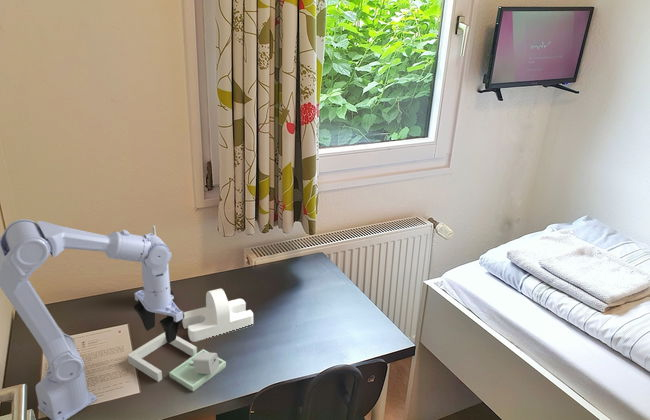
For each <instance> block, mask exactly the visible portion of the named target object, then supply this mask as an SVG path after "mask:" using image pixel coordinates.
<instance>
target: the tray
mask: <svg viewBox="0 0 650 420" xmlns="http://www.w3.org/2000/svg"><path fill="white" fill-rule="evenodd" d="M200 352H206V353H210V352H209V351H207V350H205V349H204V348H203V349H201V350H200V351H197V354H195V355H194V356H190V357H189V358H188V359H186V360H185V361H184V362H182V363H181V364H179V365H178V366H176V367H175V368H174V369H172V370H171V371H169V378H170V379H172V380H174V381H175V382H177V383H178V384H180V385H182V386H183V387H184V388H186V389H188V390H189V391H191V392H192V393H193V392H195V391H196V390H198V389H199V388H200V387H201V386H203V385H204V384H206V383H207V382H209V380H211V379H212V378H213V377H215V376H216V375H217V374H218V373H220V372H221V371H222V370H224V369H225V368H226V367H227V361H225V360H223V359H222V358H221V357H218V360H219V368H218V369H217V370H216V371H215V372H214V373H213V374H199V373H196V372H195V368H194V366H188V365H189V364H188V365H187V363H193V361H192V359H193V360H194V358H195V357H196V356H197V355H198V354H199V353H200Z"/></svg>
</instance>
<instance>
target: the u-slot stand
mask: <svg viewBox="0 0 650 420" xmlns="http://www.w3.org/2000/svg"><path fill="white" fill-rule="evenodd" d="M246 308H247V302H246V301H245V300H244V299H243V298H236V299H232V300H229V299H228V297H227V295H226V293H225V290H224V289H223V288H221V287H220V288H216V289H212V290H208V291H207V292H206V294H205V306H204V307H199V308H195V309H191V310H188V311H183V313H184V318H183V320H182V322H181V323H182V326H183V328H184V329H187V336H188V339H189V341H191V342H194V343H195V342H199V341H202V340H206V338H207V339H210V338H213V337H212V336H214V337H217V336H220V335H219V334H221V335H224V334H223V333H225V334H227V333H226V332H228V333H230V332H229V331H232V330H235V331H237V330H236V329H239V328H242V327H245V326H248V325H251V324H253V325H254V312H253V311H252V310H251V309H248V310H247V309H246ZM239 330H240V329H239ZM232 332H233V331H232ZM216 335H217V336H216ZM209 337H210V338H209Z"/></svg>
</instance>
